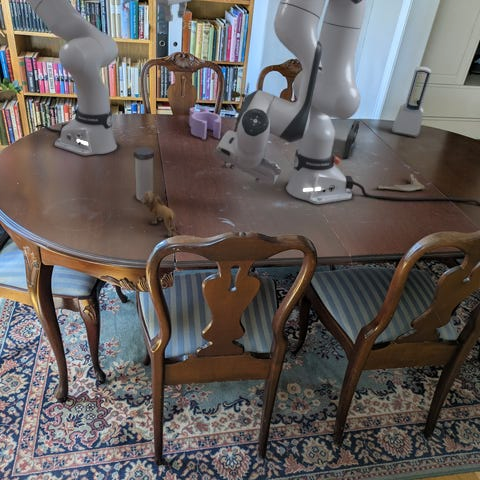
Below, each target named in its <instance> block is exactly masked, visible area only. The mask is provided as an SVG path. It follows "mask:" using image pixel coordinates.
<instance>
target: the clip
mask: <svg viewBox="0 0 480 480" xmlns="http://www.w3.org/2000/svg"><path fill="white" fill-rule="evenodd" d="M188 119H189V120H188V121H189V122H188V125H189V127H190V134H191V135H193V136H195V137H197V138H201V140H206V139H207V130H211V131H213V132H212V137H213V138H215V139H218V140H219V139H221V131H222V116H221V115H219V114H217V113H215V112H211V111H210V109H209V108H206V107H203V106H200V107H199V111H196V108H195V107H190V108H189V118H188Z"/></svg>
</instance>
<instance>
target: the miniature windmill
mask: <svg viewBox="0 0 480 480" xmlns="http://www.w3.org/2000/svg"><path fill="white" fill-rule="evenodd" d="M249 91H250V82H247V85H246V90H244V92H245V93H242V94H241V93H240V92H238V91H235V90H231V92H230V97H231V98H240V97H241V98H242V99H243V101H241V105H240V107H238V108H236V110H235V111H234V112H235V113H237V114H238V115H237V117H236V122H235V126H234V129H233V130H232V131H234V132H236V131H237V127H238V124H239V122H238V117H239V112H240V109H241V106H242V104H243V102H244V100H245V98H246V97H247V96H248V95H249V94H250V92H249ZM226 166H227V163H226V161H224V164H223V167H226Z"/></svg>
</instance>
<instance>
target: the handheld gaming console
mask: <svg viewBox="0 0 480 480" xmlns="http://www.w3.org/2000/svg"><path fill="white" fill-rule="evenodd" d="M360 123H361V122H360V120H358V119H354V120H353V122H352V124H351V127H350V129H349V131H348V133H347V135H346V136H347V137H346V141H345V146H344V150H343V154H342V158H343V159H349V158H350V156H351V153H352V151H353V148H354V145H355V144H356V141H357V136H358V133H359V129H360Z"/></svg>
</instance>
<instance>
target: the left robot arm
mask: <svg viewBox="0 0 480 480" xmlns="http://www.w3.org/2000/svg"><path fill="white" fill-rule="evenodd" d="M25 1H26V3H27V5H29V6H30V8H31V9H32V10H33V12H34V13H35V14H36V16H37V17H38V18H39V19H40V20H41V22H42V23H43V24H44V26H46V28H47V29H48V30H49V31H50V32H51V34H53V35H54V36H55V37H57V38H60V39H61V40H64V41H65V42H66V43H65V44H63V45H62V46H61V47H60V49H59V52H58V59H59V62H60V65H61V67H62V68H63V69H64V70H65V71H66V72H67V73H68V74H69V75H70V77H71V79H72V82H73V83H74V87H75V92H76V101H77V108H76V109H75V110H74V111H71V115H72V116H74V115H75V116H74V118H73V119H72V120H71V121H69V122H66V123H63V124H61V127H60V129H54V128H50V127H48V126H46V125H44V124H39V123H38V124H37V125H35V127H34V128H35V129H38V128H39V127H40V128H44V129H46V130H48V131H50V132H55V133H59V135H60V137H59V138H57V139H56V140H55V142H54V146H55V147H57V148H59V149H62V150H65V151H69V152H72V153H74V154H78V155H80V156H84V157H85V156H86V157H87V156H92V155H105V154H108V153H111V152H114V151H115V150H116V149H117V148H118V145H117V142H116V140H115V135H114V131H113V111H112V109H111V97H110V88H109V87H108V85H107V84H105V83H104V80H103V78H102V74H101V70H102V69H103V68H106V67H108V66H110V65H111V64H112V63H113V62H114V61H115V60H117V57H118V55H119V47H118V44H117V41H116V40H115V39H114V38H113V37H112V36H111V35H109V34H107V33H104V32H103V31H101V30H100V29H99V28H98V27H96V26H95V25H93V24H92V23H91V22H90V21H89V20H88V19H86V18H85V17H84V16H83V15H82V14H81V13H80V12H79V11H78V10H77V9H76V8H75V6H74V5H73V3H71V2H70V0H25ZM155 1H156V4H157V5H159V6H163V12H164V16H165V17H164V18H165V22H172V21H173V18H174V15H173V14H172V13H173V12H172V9H173V6H174V5H178V11H177V18H179V19H183V18H185V15H186V13H185V12H186V9H187V4H188V2H191V1H192V0H155Z"/></svg>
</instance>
